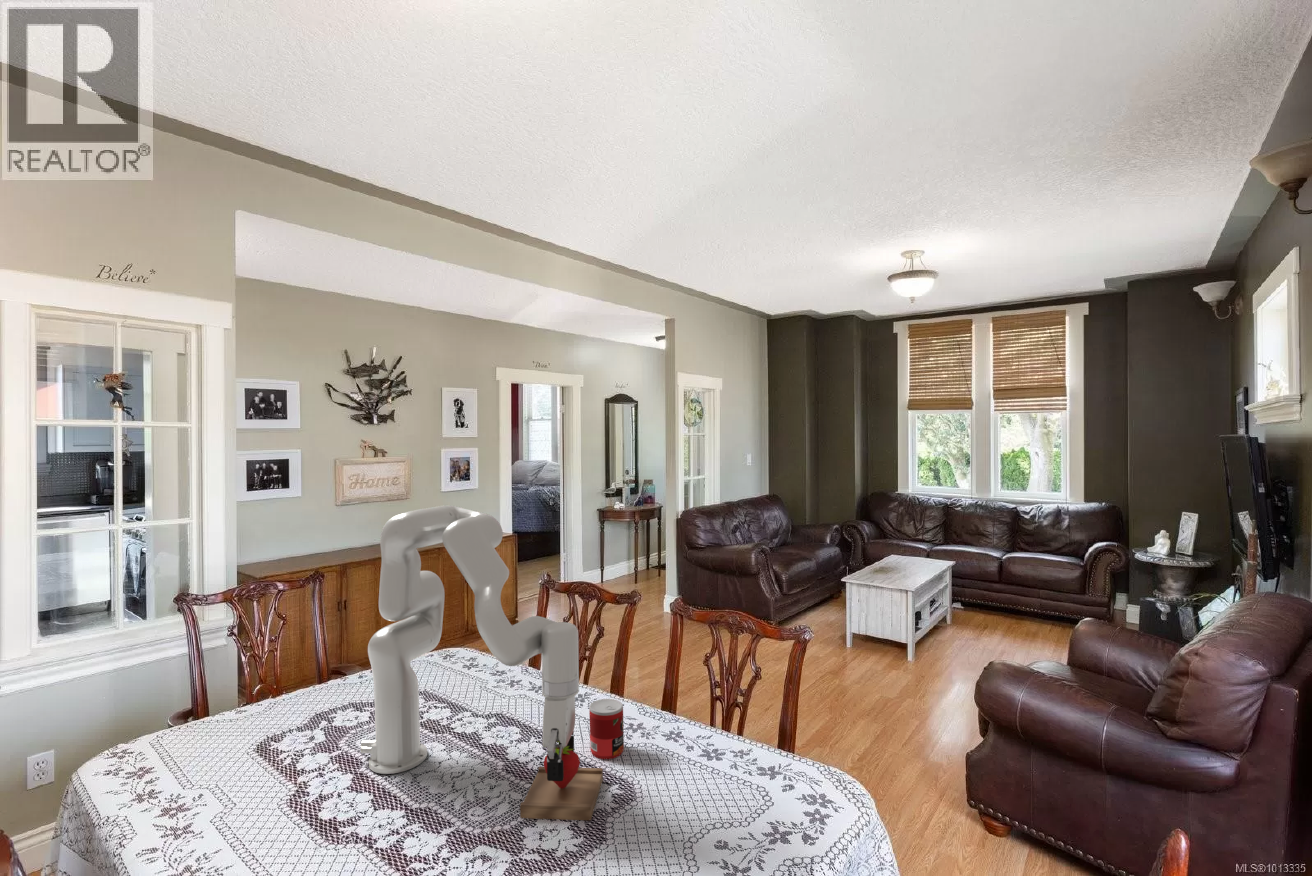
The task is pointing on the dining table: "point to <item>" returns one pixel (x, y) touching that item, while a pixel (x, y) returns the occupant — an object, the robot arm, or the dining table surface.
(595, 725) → the canned food
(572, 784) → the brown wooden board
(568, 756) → the strawberry
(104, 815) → the dining table surface
